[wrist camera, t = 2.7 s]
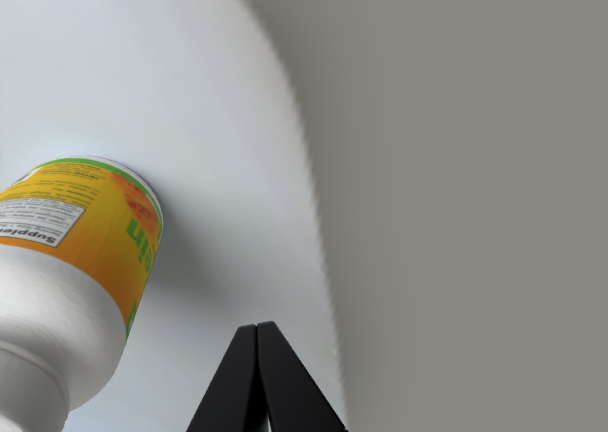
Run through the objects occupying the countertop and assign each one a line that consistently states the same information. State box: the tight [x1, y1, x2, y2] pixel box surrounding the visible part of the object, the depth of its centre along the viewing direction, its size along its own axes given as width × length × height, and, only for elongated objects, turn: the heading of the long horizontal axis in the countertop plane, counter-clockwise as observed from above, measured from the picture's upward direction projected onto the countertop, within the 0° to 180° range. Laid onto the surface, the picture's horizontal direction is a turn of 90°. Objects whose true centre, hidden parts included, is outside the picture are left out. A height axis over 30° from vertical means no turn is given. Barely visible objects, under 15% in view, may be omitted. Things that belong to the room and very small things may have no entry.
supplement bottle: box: [0, 155, 163, 432], centre depth 11 cm, size 5×5×10 cm
